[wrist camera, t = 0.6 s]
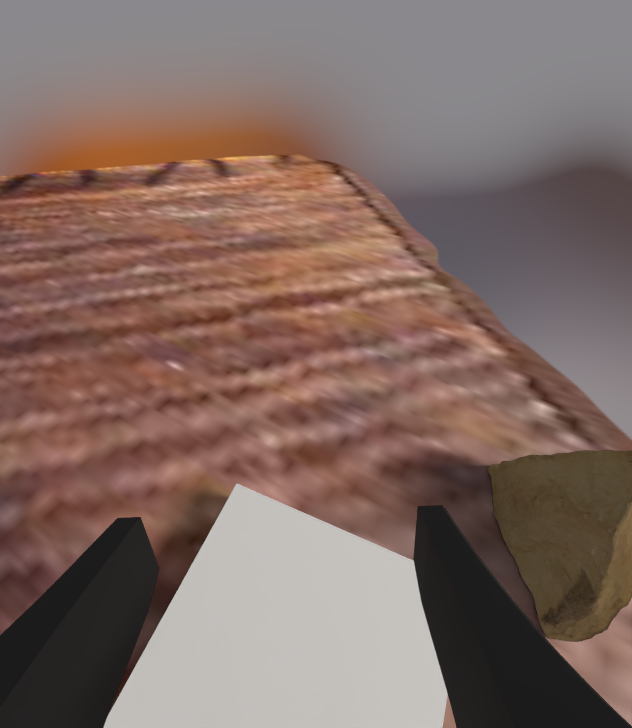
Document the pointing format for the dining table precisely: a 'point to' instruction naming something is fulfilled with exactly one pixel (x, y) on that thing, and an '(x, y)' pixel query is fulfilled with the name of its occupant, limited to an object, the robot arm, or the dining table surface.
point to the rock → (569, 535)
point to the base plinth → (287, 633)
